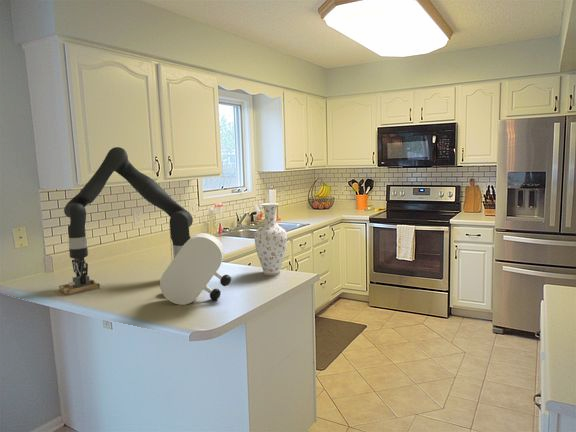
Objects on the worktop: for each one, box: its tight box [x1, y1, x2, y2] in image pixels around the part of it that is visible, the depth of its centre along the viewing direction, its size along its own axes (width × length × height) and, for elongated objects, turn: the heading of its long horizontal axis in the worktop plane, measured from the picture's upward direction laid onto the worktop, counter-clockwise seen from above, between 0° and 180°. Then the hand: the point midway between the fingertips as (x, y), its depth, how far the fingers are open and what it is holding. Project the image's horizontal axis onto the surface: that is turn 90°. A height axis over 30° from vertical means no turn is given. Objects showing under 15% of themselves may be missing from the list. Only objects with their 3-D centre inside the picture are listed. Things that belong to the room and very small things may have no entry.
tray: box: [58, 278, 101, 296], centre depth 203 cm, size 11×14×2 cm
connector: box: [67, 275, 95, 288], centre depth 203 cm, size 4×11×4 cm, turn 134°
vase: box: [254, 202, 288, 276], centre depth 220 cm, size 16×16×35 cm
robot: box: [159, 232, 232, 306], centre depth 181 cm, size 30×9×24 cm
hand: (81, 283), depth 203 cm, fingers open, 4 cm apart
